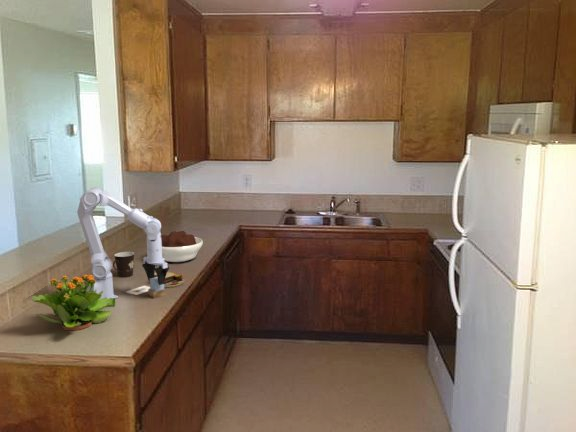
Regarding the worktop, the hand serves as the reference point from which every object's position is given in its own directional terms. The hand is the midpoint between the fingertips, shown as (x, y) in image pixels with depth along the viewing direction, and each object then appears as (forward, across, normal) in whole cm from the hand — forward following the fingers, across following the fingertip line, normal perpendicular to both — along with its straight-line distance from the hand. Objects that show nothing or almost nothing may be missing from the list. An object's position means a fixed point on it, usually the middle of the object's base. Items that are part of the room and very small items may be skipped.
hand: (156, 282), depth 213 cm
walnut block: (+6, 0, 0) cm, 6 cm away
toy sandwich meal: (+6, +10, -12) cm, 17 cm away
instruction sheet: (+6, +11, +1) cm, 12 cm away
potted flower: (+6, -7, +37) cm, 38 cm away
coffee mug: (+6, +35, -4) cm, 36 cm away
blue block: (+3, 0, 0) cm, 3 cm away
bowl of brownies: (+6, +40, -38) cm, 55 cm away
